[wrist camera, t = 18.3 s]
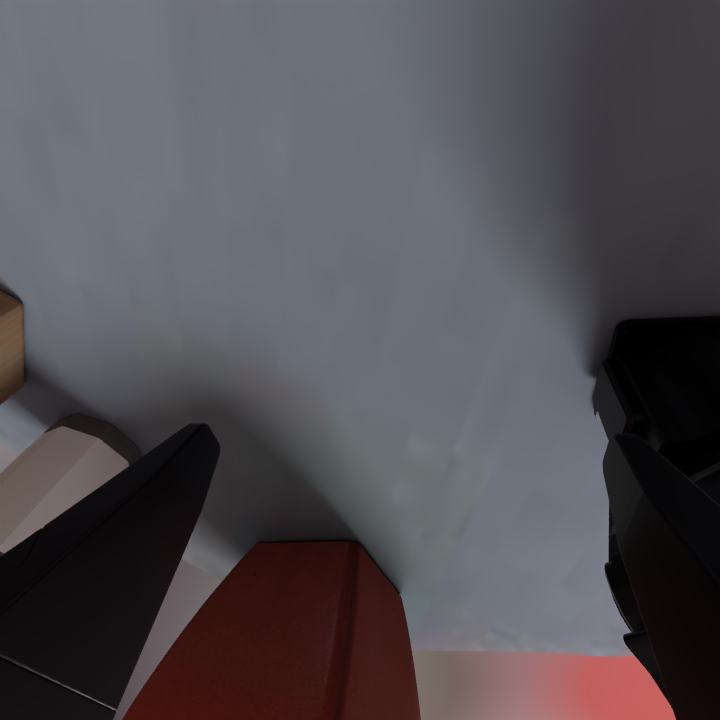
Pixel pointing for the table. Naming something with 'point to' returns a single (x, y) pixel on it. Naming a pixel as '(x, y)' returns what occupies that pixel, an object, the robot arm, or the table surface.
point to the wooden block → (11, 346)
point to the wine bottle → (59, 474)
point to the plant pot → (290, 644)
